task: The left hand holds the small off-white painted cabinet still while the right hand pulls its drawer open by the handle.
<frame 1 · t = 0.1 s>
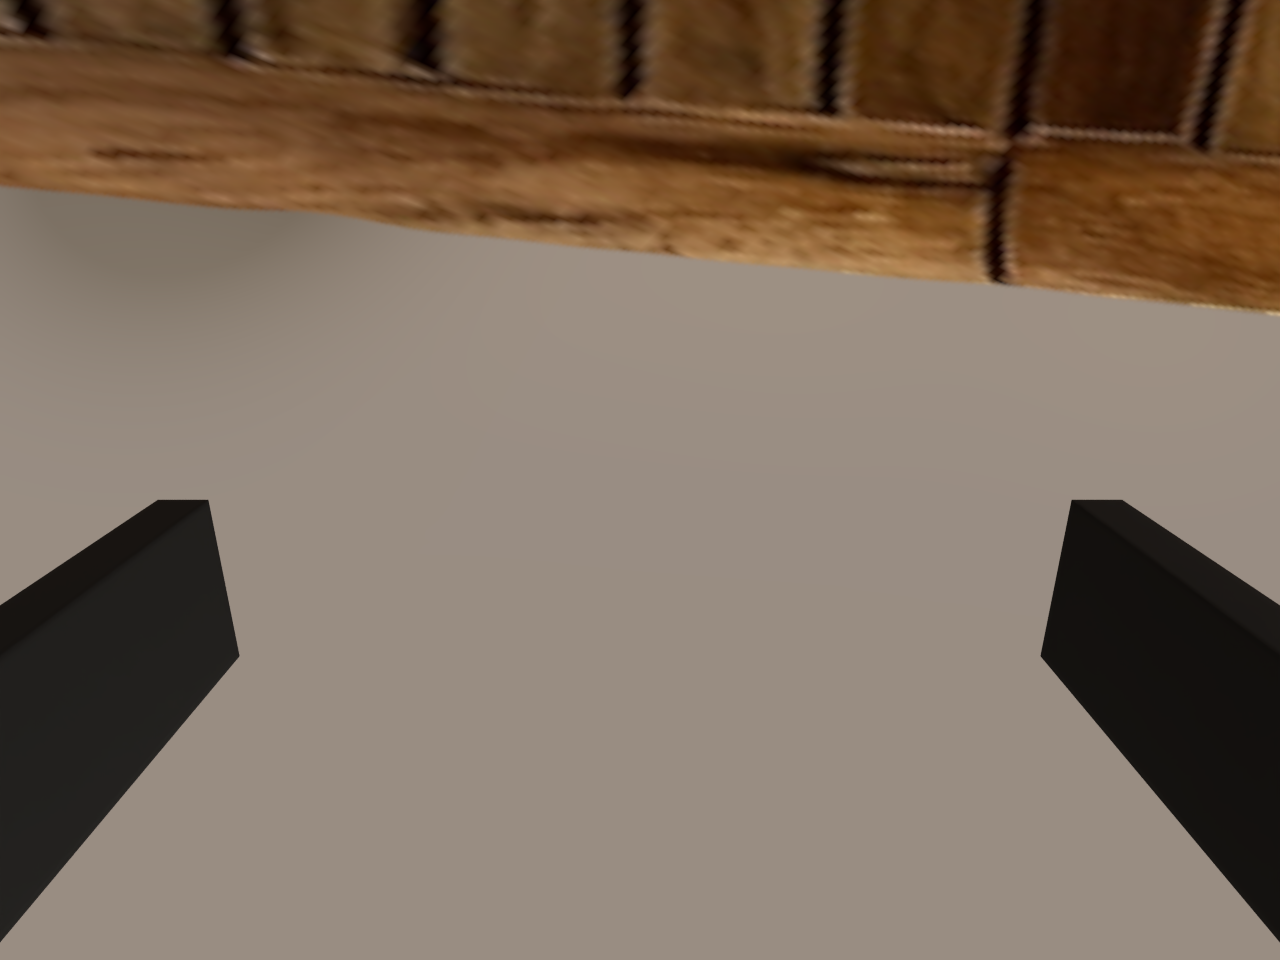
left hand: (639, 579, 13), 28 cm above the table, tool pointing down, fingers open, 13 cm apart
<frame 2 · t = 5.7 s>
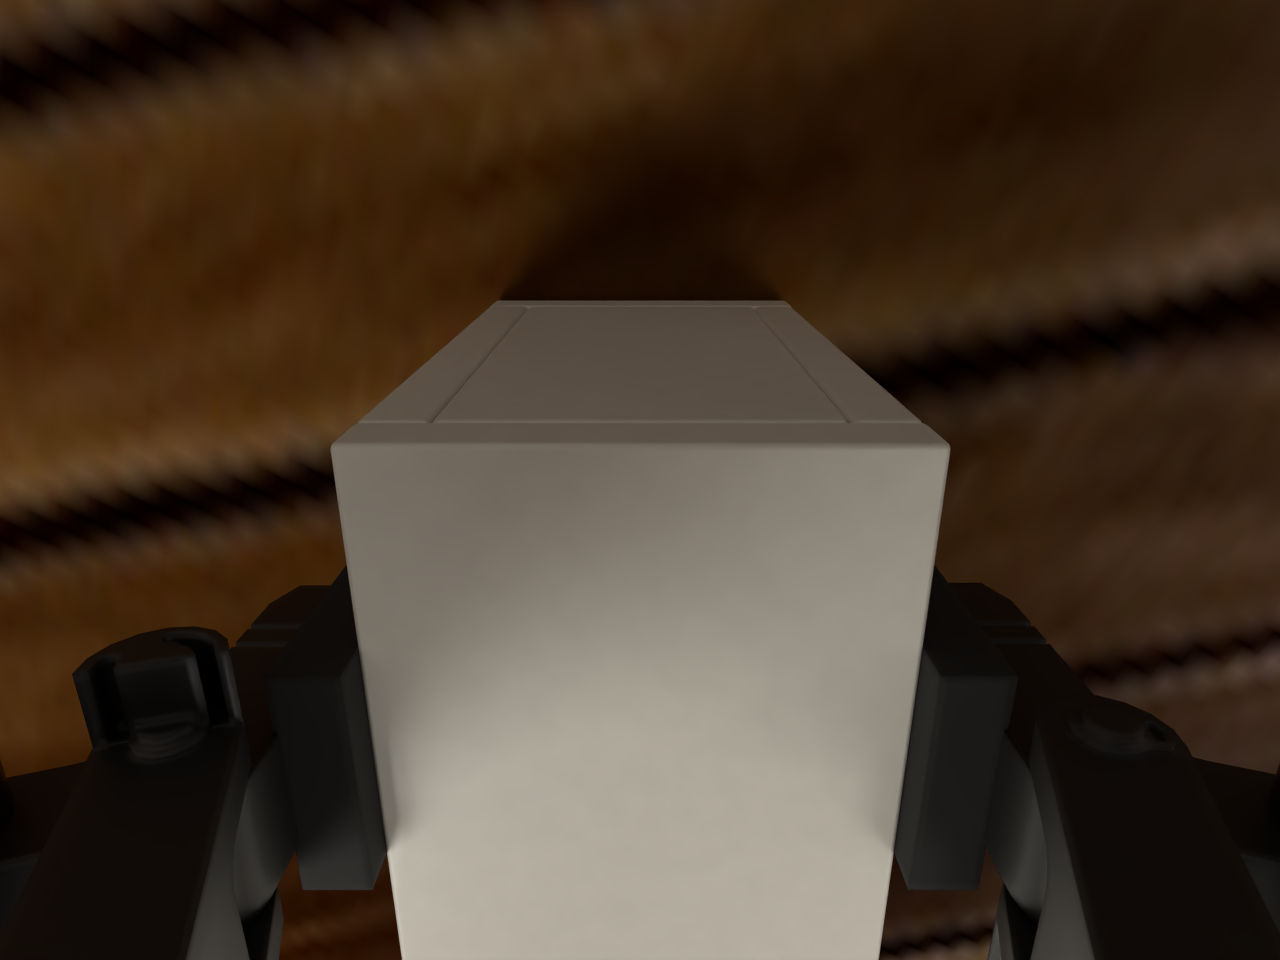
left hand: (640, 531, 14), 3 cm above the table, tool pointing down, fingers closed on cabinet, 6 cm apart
cabinet: (640, 743, 20), on the table, touching left hand
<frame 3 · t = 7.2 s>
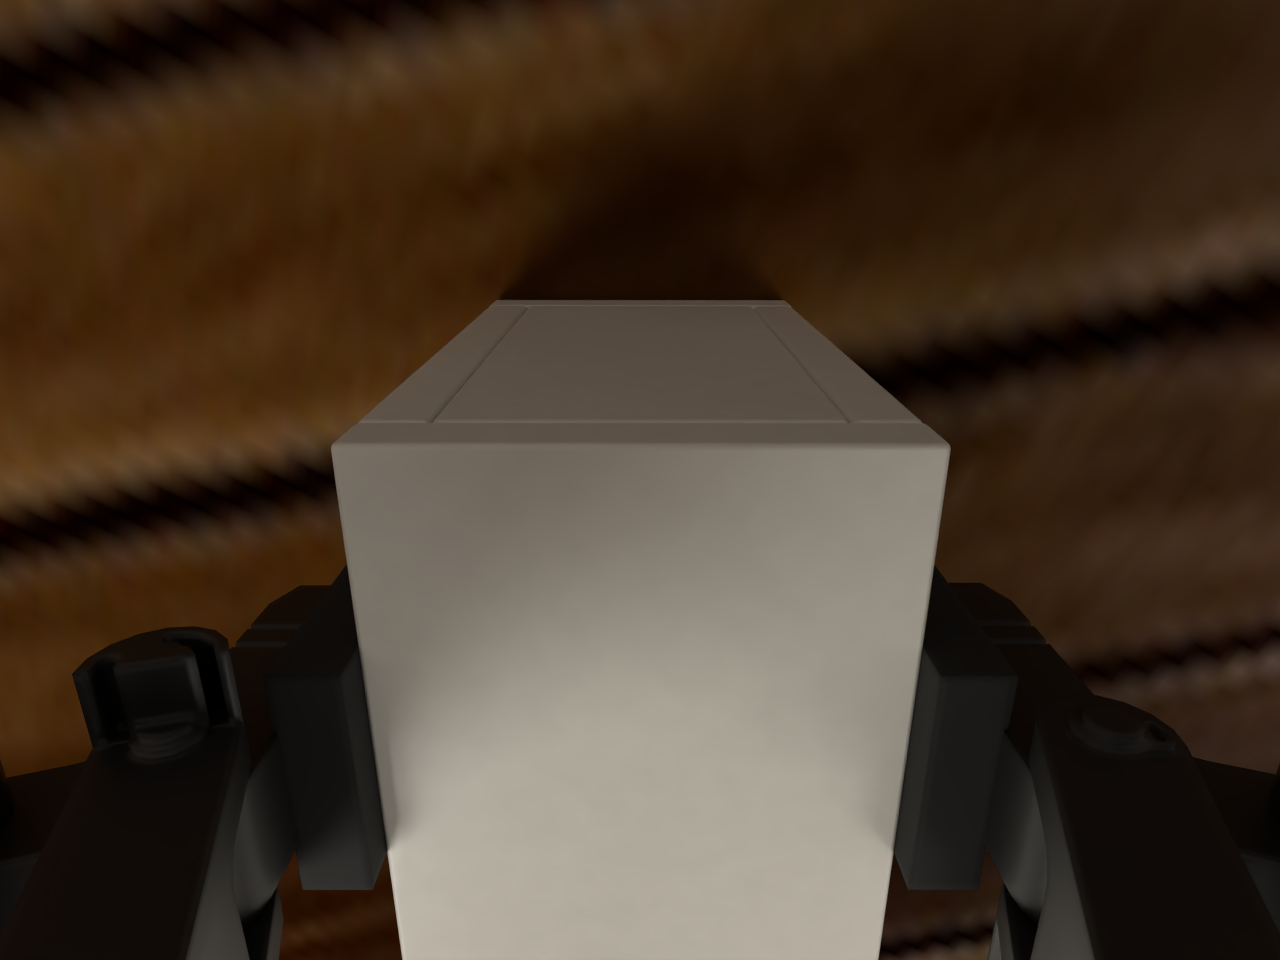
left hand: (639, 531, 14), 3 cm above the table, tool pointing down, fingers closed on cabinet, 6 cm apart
cabinet: (640, 742, 20), on the table, touching left hand
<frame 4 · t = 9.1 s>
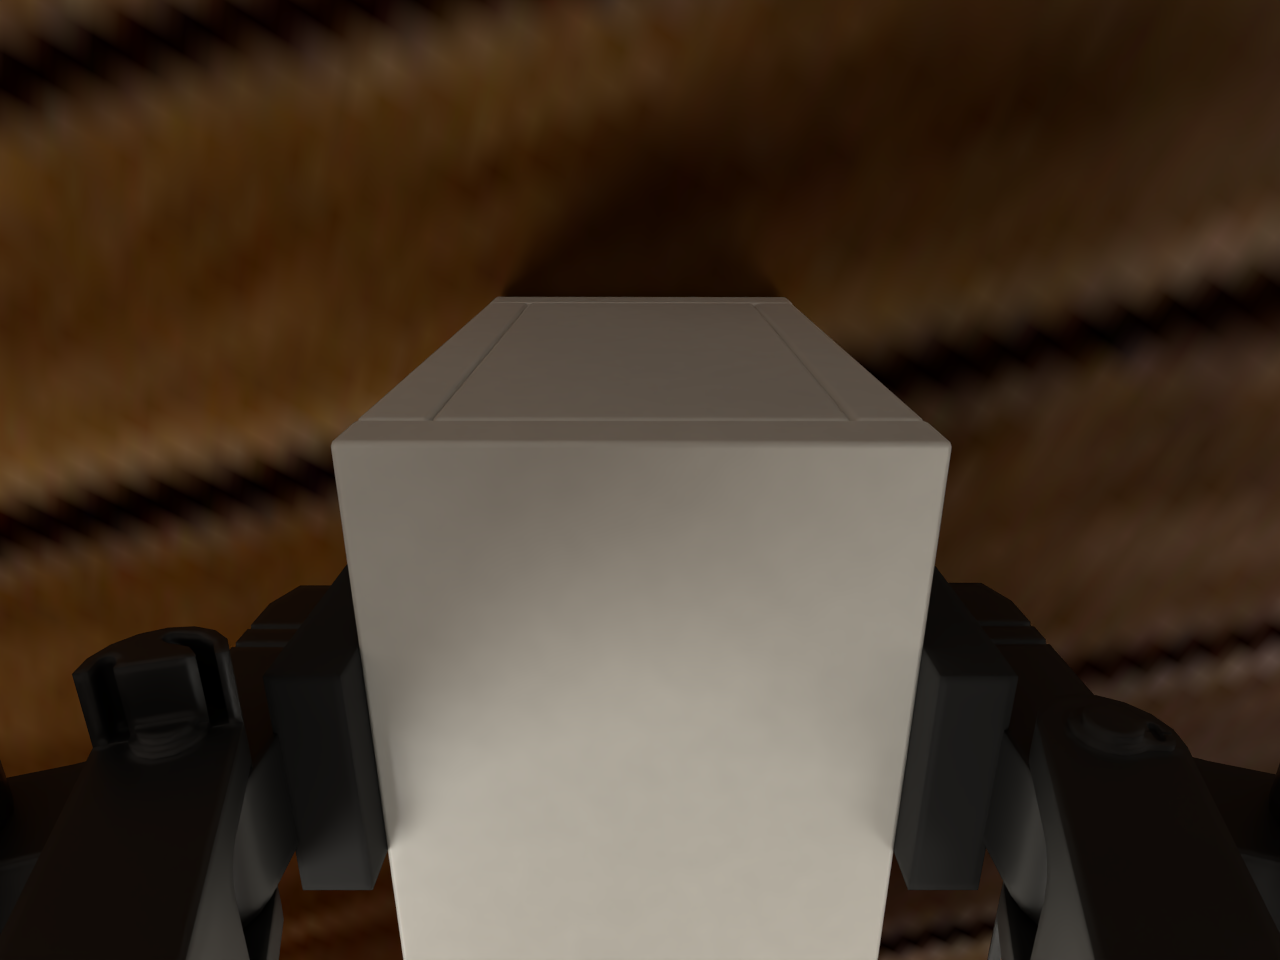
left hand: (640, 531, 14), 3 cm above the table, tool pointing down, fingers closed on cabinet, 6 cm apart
cabinet: (640, 739, 20), on the table, touching left hand
when the left hand's fingers open (3 cm above the table, at t = 10.2 s): cabinet stays where it is, on the table.
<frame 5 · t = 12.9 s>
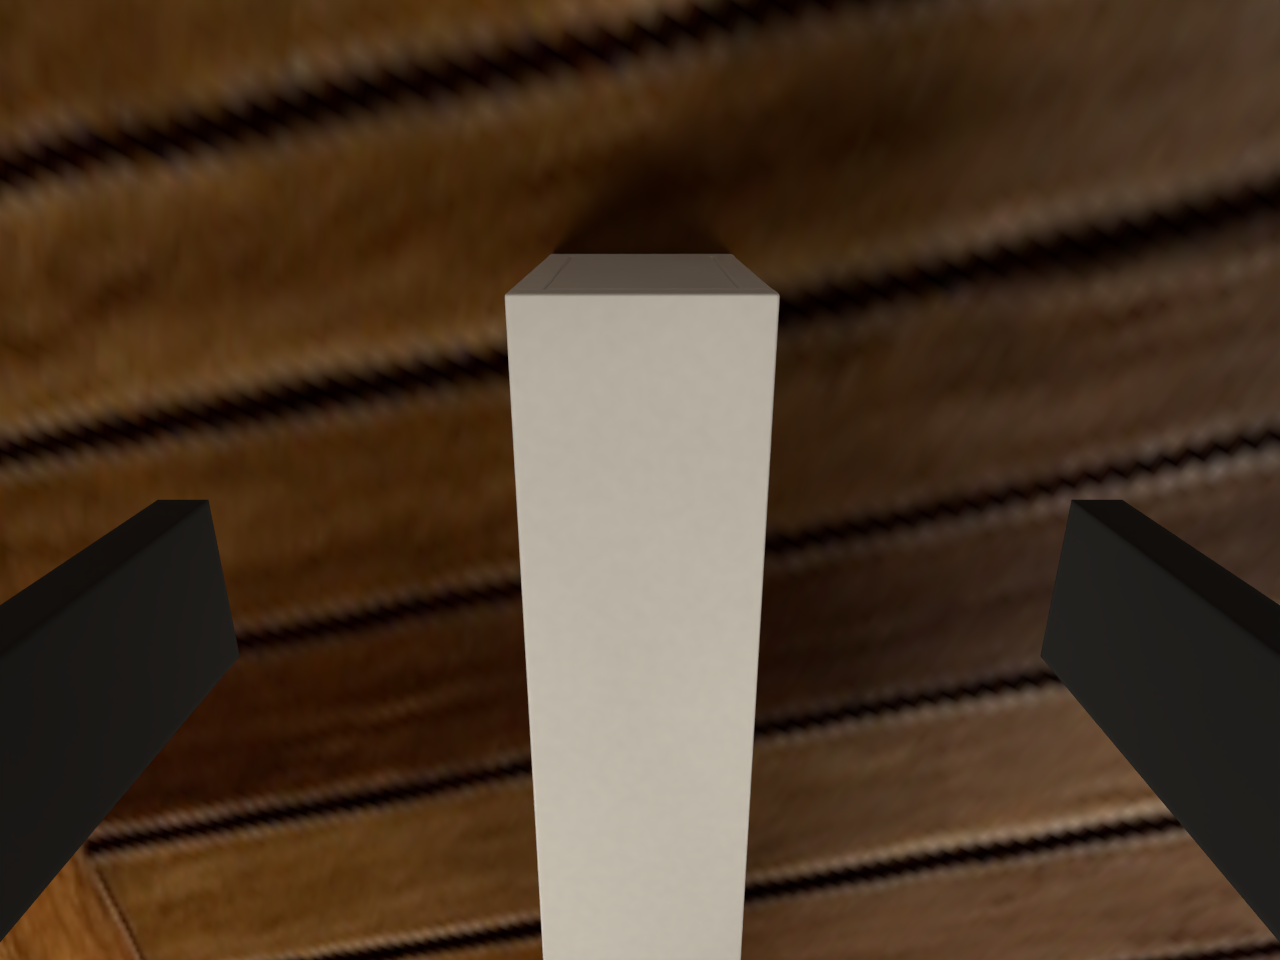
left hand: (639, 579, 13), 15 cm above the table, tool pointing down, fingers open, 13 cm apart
cabinet: (641, 559, 30), on the table
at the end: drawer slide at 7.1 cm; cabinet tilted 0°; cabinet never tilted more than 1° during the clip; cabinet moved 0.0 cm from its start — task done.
